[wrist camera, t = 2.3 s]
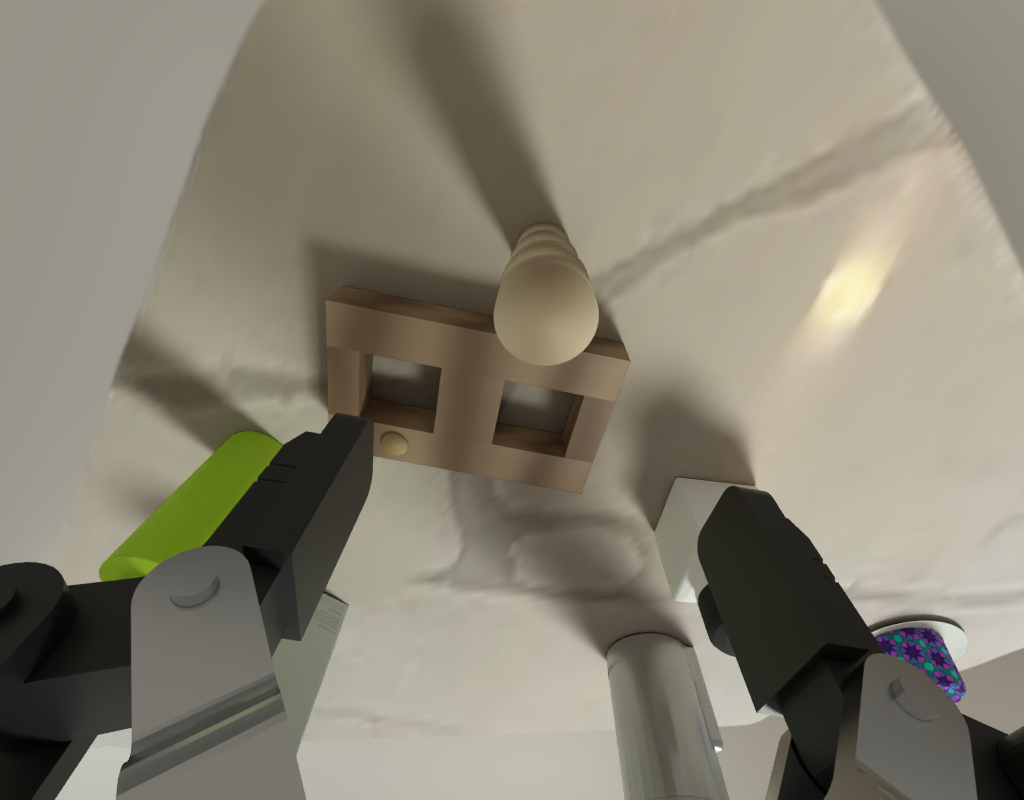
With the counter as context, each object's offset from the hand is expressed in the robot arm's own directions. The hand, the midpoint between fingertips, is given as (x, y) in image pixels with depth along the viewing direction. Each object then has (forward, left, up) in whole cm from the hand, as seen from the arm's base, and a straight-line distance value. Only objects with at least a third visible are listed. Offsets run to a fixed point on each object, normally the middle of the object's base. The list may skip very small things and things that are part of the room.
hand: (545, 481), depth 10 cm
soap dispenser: (+20, +22, -22) cm, 37 cm away
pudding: (-48, +33, -23) cm, 63 cm away
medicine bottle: (-19, +19, -22) cm, 35 cm away
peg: (0, 0, -22) cm, 22 cm away
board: (+3, +11, -22) cm, 25 cm away
